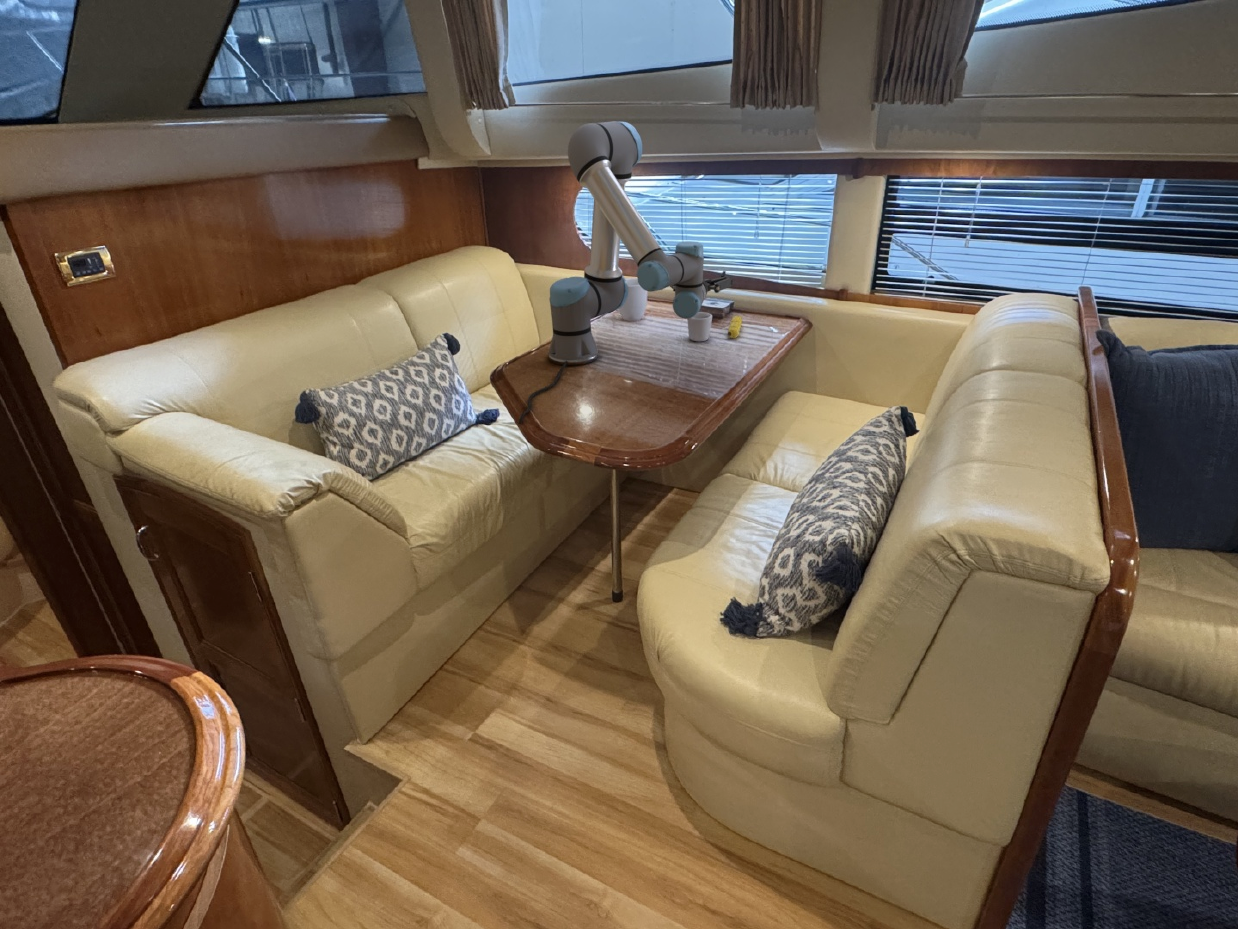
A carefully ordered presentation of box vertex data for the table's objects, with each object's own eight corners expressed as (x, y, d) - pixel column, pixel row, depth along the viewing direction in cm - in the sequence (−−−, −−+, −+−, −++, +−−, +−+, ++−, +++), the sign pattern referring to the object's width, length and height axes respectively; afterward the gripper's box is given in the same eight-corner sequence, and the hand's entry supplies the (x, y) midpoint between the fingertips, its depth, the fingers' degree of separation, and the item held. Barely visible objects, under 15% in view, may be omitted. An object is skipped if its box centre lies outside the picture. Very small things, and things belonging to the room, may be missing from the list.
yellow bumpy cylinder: (738, 339, 214) (738, 329, 212) (726, 339, 215) (727, 328, 213) (742, 324, 228) (742, 314, 227) (731, 324, 229) (732, 313, 227)
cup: (696, 331, 223) (697, 308, 219) (718, 335, 219) (719, 311, 215) (682, 341, 215) (682, 316, 211) (705, 344, 211) (705, 320, 207)
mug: (602, 319, 239) (600, 283, 232) (616, 311, 247) (615, 276, 241) (639, 324, 233) (638, 286, 226) (652, 315, 241) (652, 279, 235)
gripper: (651, 303, 197) (663, 285, 215) (736, 306, 191) (741, 287, 209) (651, 277, 193) (663, 261, 211) (737, 280, 188) (743, 263, 206)
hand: (702, 274), depth 210 cm, fingers open, 13 cm apart
